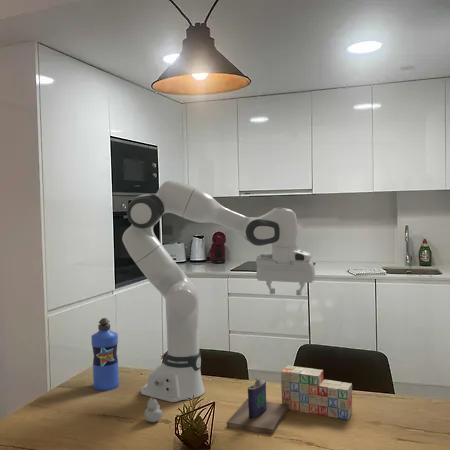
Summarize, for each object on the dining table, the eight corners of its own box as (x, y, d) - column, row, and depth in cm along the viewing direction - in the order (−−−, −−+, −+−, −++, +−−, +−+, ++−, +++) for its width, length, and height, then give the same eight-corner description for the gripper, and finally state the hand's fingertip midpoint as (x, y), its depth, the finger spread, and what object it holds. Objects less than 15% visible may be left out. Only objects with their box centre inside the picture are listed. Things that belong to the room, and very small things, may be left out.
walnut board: (226, 427, 144) (226, 422, 144) (247, 403, 160) (246, 398, 160) (272, 434, 138) (272, 429, 138) (288, 409, 155) (288, 404, 155)
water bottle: (92, 383, 182) (90, 317, 180) (118, 380, 184) (115, 314, 183) (93, 392, 173) (91, 322, 172) (120, 389, 175) (118, 320, 174)
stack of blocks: (352, 412, 152) (352, 373, 151) (348, 420, 146) (347, 380, 146) (288, 401, 162) (287, 364, 161) (281, 408, 156) (280, 370, 156)
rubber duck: (140, 423, 147) (140, 397, 147) (150, 414, 153) (149, 389, 153) (157, 426, 145) (156, 399, 145) (166, 416, 152) (165, 391, 151)
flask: (261, 406, 154) (260, 373, 153) (269, 408, 152) (268, 375, 152) (246, 418, 146) (245, 383, 145) (255, 420, 144) (254, 384, 144)
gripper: (253, 255, 168) (254, 294, 169) (312, 256, 161) (312, 297, 161) (258, 253, 174) (259, 291, 175) (315, 254, 167) (316, 294, 167)
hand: (285, 294), depth 168 cm, fingers open, 8 cm apart
